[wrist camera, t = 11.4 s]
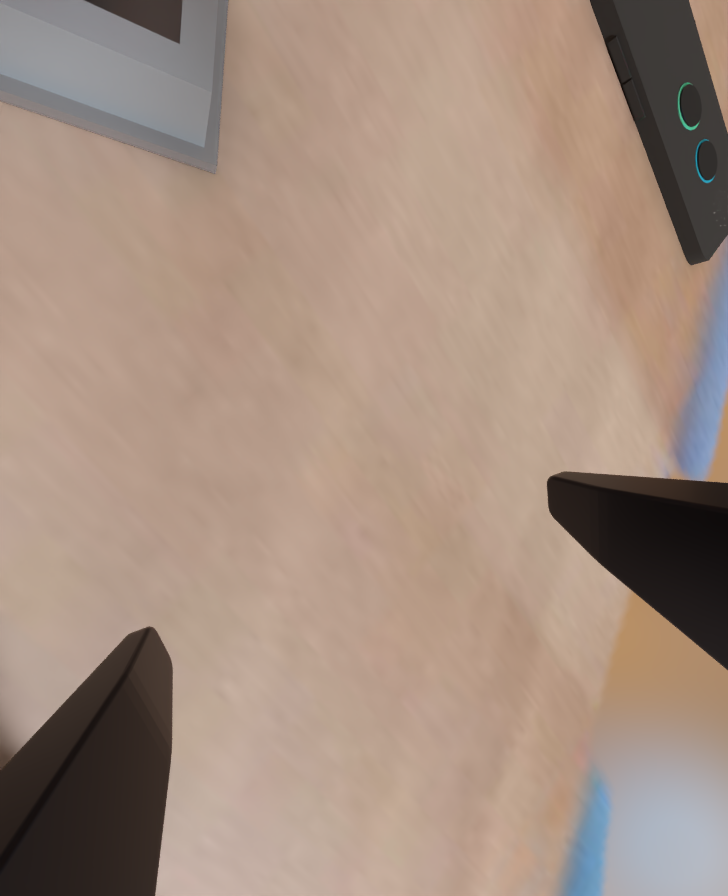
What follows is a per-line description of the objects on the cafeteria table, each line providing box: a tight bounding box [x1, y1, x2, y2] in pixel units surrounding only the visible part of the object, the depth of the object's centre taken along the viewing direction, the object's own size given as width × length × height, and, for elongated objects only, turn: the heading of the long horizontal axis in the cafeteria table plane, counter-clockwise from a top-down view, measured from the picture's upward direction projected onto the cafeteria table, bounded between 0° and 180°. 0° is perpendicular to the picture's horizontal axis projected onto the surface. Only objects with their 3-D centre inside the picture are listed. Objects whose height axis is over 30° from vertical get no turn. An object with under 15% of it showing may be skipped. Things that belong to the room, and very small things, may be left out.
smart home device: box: [590, 0, 728, 265], centre depth 29 cm, size 8×2×20 cm
